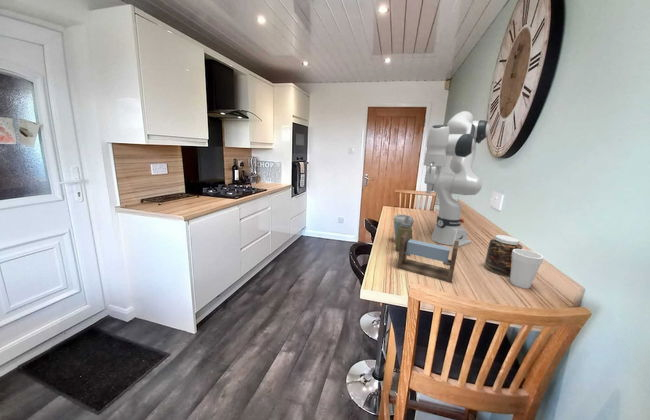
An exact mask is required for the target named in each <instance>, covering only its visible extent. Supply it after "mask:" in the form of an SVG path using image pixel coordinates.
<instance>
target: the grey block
mask: <svg viewBox="0 0 650 420" xmlns="http://www.w3.org/2000/svg"><path fill="white" fill-rule="evenodd" d="M450 252H451V247H449V246H446V245H439V244H434V243H430V242H425V241H420V240H416V239H413V238H412V239H410V240H409V241H408V244H407V251H406V253H408V254H410V255H411V256H416V257H417V256H418V257H421V258H426V259H430V260H434V261H439V262H442V263H443V262H446V263H447V262H448V260H449V256H450Z"/></svg>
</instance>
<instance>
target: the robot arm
mask: <svg viewBox="0 0 650 420" xmlns="http://www.w3.org/2000/svg"><path fill="white" fill-rule="evenodd" d="M490 130H491V129H490V124H489V122H488V121H487V120H483V119H480V120H474V115H473V114H472V113H471V112H470V111H467V110H463V111H459V112H458V113H456V114H454V115H453V116H452V117H451V118H450V119H449V120H448V121H447V123H446V124H435V125H432V126H430V129H429V131H428V135H427V140H426V151H425V154H424V159H423V160H424V161H423V166H426V167H425V170H426V171H425V174H424V180H423V181H424V182H423V183H424V184H425V185H426V190H425V191H426V194H429V195H430V194H431V193H432V192H434V193H435V194H436V196H437V198H438V201H439V208H438V213H437V214H438V215H437V217H436V223H435V224H434V225H435V226H434V229H433V233H432V234H431V235H430V236H431V240H432V241H433V242H435V243H438V244H441V245H445V246H446V245H447V246H451V247H452V246H454V241H458V242H459V245H458V248H459V247H462V246H465V245H469V244H471V243H472V241H471V239H468V232H467V230H466V229H465V228H464V227H463V226H462V224H464V223H465V221H466V220H465V219H462V218H461V214H462V213H461V212H462V205H461V203H460V202H459V201H458V200H456V199H455V198H453V195H461V196H476V195H477V194H478V193H480V192H481V190H482V188H483V187H482V186H483V183H482V180H481V178H480V177H479V176H477V175H476V174H475V173H474V172H473V164H474V161H475V157H476V151H477V150H476V149H477V147H476V146H477V145H476V144H481V142H482V141H484V140H485V139H486V138H487V137H488V135H489V132H490ZM447 156H448V157H452V158H451V160H450V164H449V168H450V170H451V172H452V173H449V172H441V171H442V168H443V167H445V165H446V159H447Z"/></svg>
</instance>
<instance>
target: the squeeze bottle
mask: <svg viewBox="0 0 650 420" xmlns="http://www.w3.org/2000/svg"><path fill="white" fill-rule="evenodd" d="M408 216H409V215H408ZM408 216H406V218H405V220H404V222H402V223H401V227H399V230H398V234H397V238H396V241H395V248H396V250H397V251H398V252H399V248H400V240H401V236H402V235H403V234H404V233H405V232H406V231H407V232H410V234H409V240H410V239H412V240H413V227H412V228H410V227H411V224H410V223H409V217H408Z"/></svg>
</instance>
